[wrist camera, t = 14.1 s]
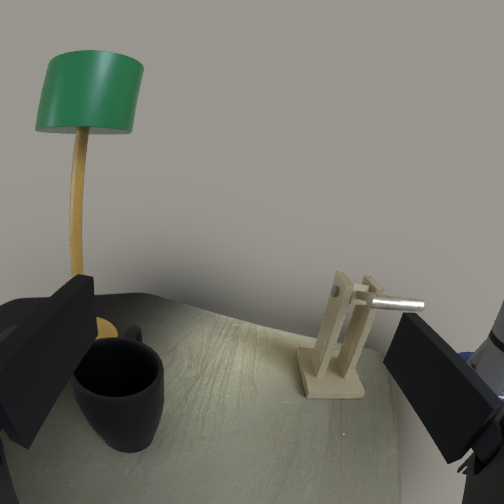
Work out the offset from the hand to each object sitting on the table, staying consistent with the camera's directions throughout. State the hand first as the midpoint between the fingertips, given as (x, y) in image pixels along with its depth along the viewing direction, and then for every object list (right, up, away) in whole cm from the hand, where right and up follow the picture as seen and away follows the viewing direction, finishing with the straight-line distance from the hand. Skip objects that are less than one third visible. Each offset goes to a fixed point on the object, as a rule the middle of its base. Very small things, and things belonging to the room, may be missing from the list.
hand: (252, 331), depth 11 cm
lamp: (-23, -10, +23) cm, 34 cm away
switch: (+13, -3, +18) cm, 22 cm away
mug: (-13, -15, +14) cm, 24 cm away
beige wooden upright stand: (+11, -14, +26) cm, 32 cm away
